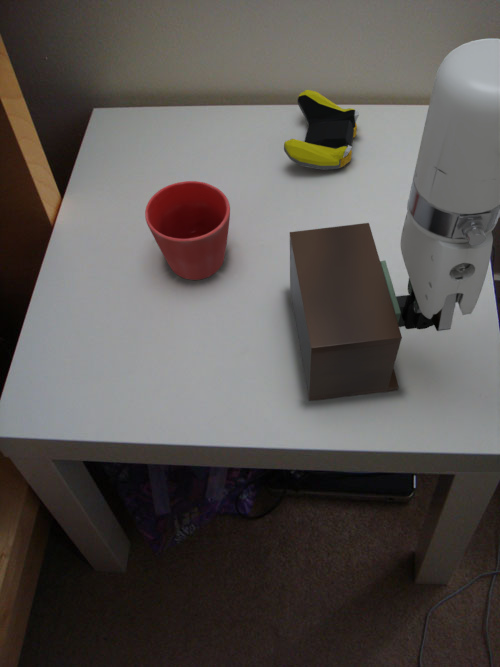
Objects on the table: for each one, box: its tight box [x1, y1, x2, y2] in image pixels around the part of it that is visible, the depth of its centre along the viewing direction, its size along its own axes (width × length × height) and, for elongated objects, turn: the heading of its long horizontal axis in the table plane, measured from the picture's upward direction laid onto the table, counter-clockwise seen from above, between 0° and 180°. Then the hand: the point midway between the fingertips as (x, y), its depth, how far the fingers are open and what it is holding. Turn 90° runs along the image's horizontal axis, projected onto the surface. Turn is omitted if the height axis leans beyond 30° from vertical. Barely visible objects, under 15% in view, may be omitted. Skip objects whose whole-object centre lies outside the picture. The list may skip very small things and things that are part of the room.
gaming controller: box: [283, 89, 360, 171], centre depth 93 cm, size 15×6×10 cm
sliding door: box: [380, 260, 411, 328], centre depth 70 cm, size 5×7×9 cm, turn 6°
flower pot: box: [144, 180, 231, 281], centre depth 80 cm, size 11×11×10 cm
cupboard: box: [289, 222, 403, 402], centre depth 70 cm, size 11×16×12 cm, turn 6°
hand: (417, 321), depth 65 cm, fingers closed
